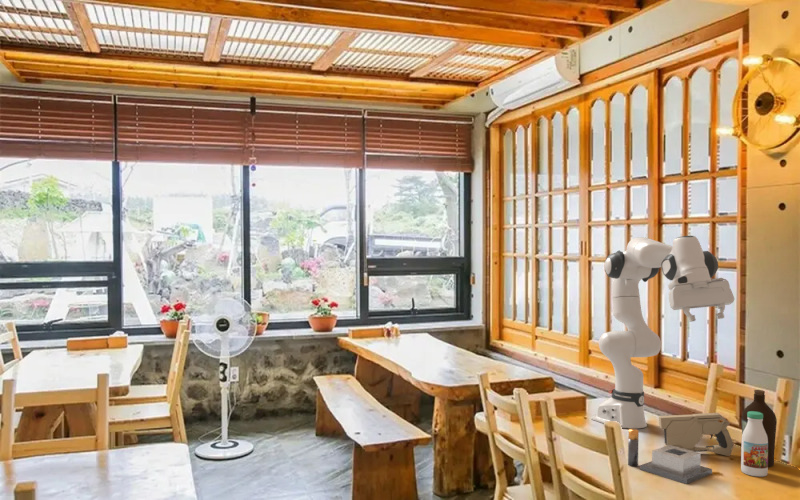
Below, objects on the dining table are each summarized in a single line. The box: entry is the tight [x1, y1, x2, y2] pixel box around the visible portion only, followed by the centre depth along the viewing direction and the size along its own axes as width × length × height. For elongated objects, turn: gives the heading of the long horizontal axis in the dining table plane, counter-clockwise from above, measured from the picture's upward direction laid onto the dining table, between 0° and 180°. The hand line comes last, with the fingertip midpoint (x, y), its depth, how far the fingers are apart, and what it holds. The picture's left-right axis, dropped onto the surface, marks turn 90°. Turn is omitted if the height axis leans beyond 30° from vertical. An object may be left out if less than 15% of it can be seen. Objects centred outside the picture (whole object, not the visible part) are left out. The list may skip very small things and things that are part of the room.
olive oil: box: [741, 389, 778, 468], centre depth 223 cm, size 11×11×25 cm
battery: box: [627, 428, 640, 468], centre depth 219 cm, size 3×3×12 cm
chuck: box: [639, 445, 713, 485], centre depth 213 cm, size 16×16×6 cm
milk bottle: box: [740, 411, 769, 477], centre depth 213 cm, size 8×8×20 cm
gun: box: [658, 412, 734, 457], centre depth 232 cm, size 24×3×15 cm, turn 84°
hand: (706, 319), depth 213 cm, fingers open, 8 cm apart
